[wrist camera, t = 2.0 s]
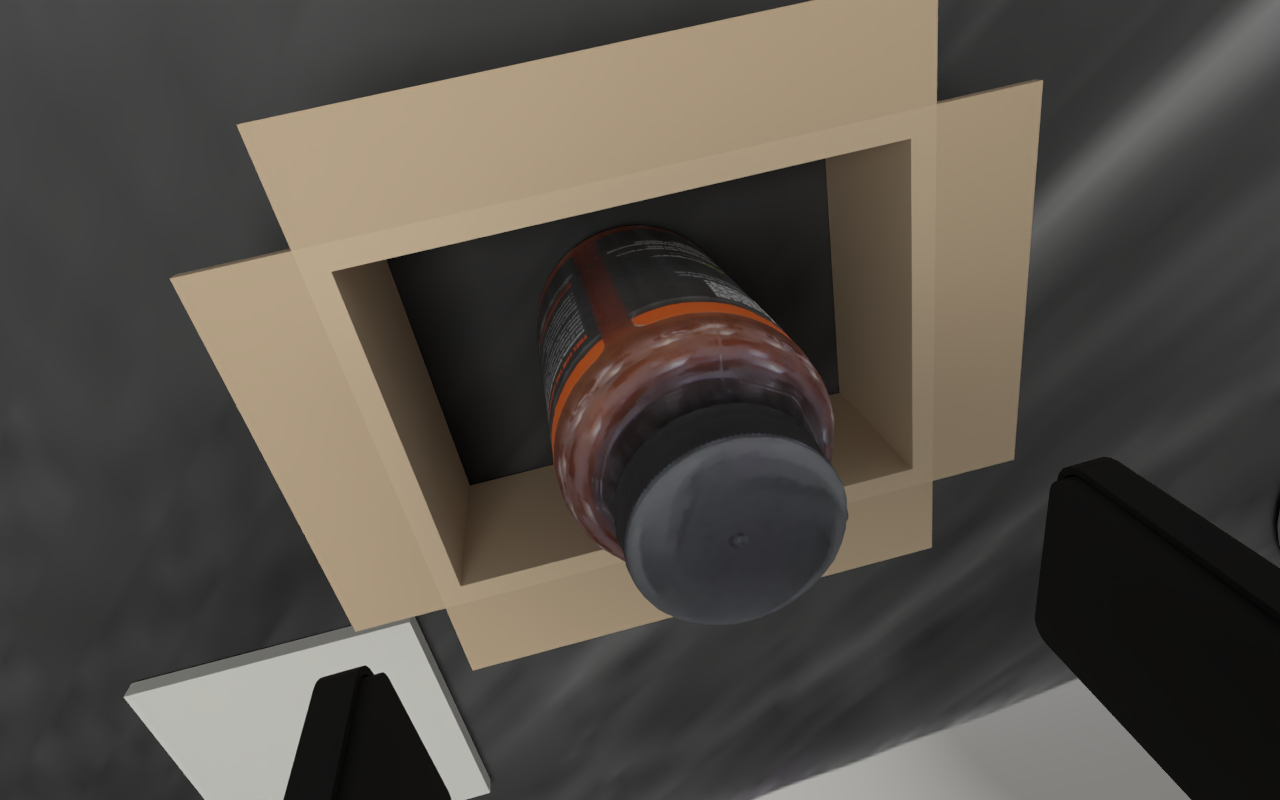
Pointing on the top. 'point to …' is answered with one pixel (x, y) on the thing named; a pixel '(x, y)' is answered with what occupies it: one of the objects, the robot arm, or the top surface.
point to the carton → (595, 180)
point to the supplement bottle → (687, 428)
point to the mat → (297, 710)
